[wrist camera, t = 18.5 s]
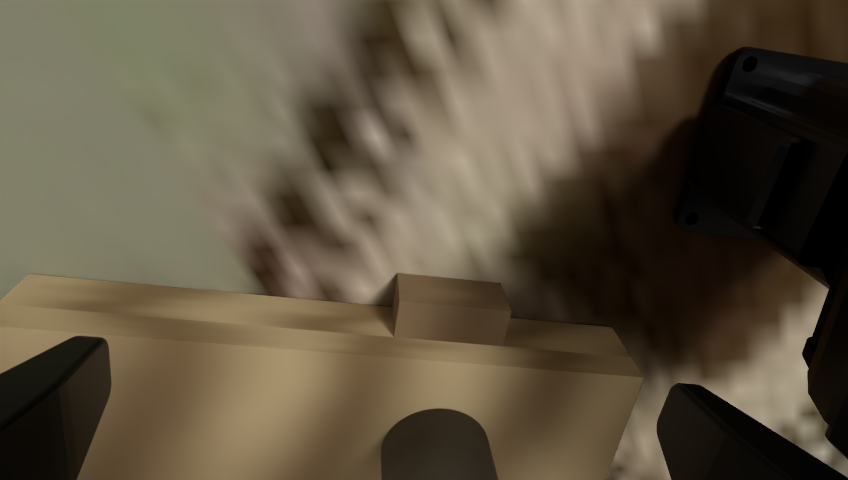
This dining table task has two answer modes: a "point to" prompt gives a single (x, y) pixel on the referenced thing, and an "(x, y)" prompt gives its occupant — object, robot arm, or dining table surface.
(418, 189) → the dining table surface
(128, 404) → the wooden board
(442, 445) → the bottle
